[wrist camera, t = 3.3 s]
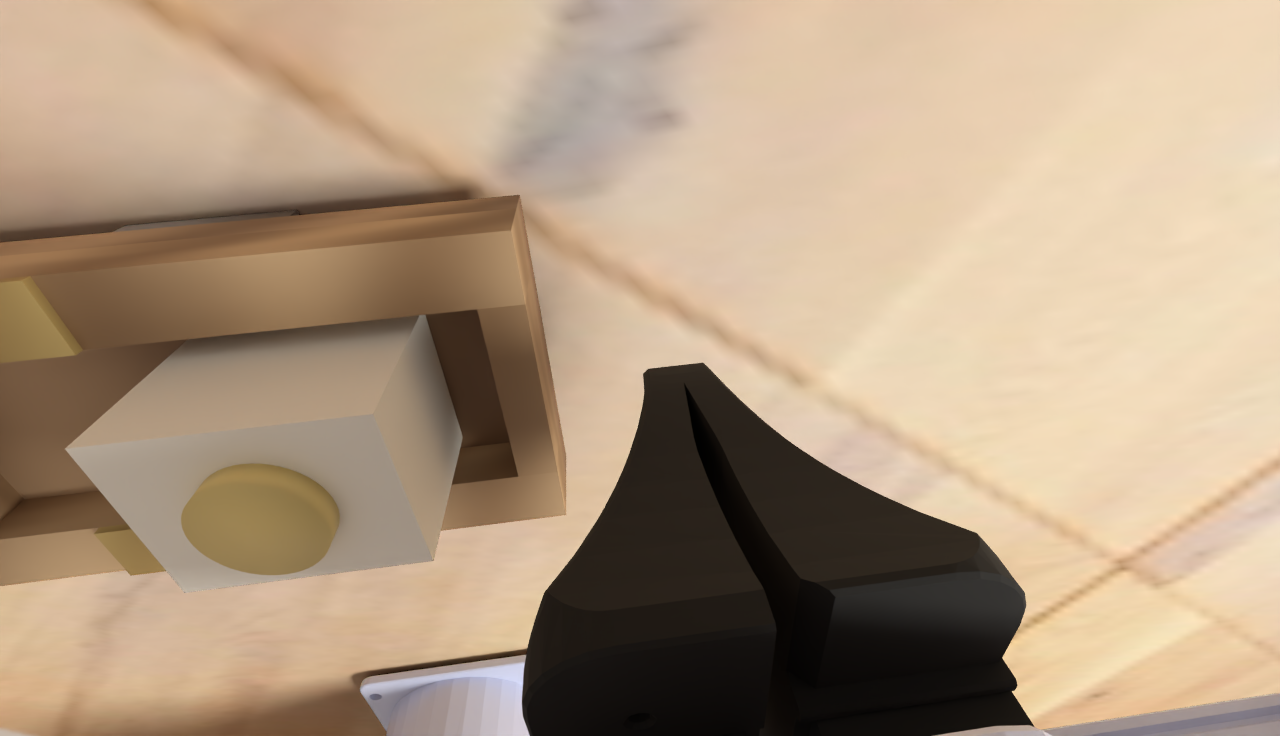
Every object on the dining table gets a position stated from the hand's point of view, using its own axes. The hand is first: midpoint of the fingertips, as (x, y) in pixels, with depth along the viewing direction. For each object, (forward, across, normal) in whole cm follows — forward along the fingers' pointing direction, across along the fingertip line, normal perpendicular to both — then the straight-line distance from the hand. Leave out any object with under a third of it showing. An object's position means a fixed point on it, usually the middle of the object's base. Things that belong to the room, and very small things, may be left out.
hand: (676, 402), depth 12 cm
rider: (+2, +8, 0) cm, 8 cm away
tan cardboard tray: (+4, +10, 0) cm, 11 cm away
